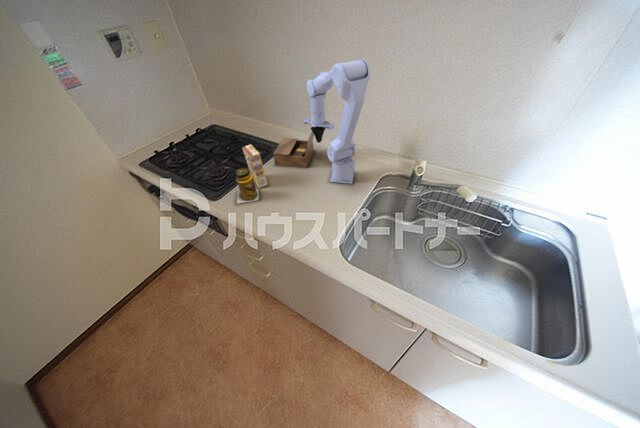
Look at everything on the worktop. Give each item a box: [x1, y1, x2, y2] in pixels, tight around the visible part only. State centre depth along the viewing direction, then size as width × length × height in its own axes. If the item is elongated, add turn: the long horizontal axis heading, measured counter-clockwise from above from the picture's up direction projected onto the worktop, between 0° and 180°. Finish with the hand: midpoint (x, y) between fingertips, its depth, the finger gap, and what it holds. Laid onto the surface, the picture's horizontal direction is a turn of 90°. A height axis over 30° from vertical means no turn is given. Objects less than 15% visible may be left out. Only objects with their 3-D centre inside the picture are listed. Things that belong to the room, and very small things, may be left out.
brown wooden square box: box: [272, 137, 314, 169], centre depth 113 cm, size 15×15×6 cm
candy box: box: [241, 144, 268, 189], centre depth 97 cm, size 9×4×15 cm, turn 33°
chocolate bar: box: [293, 144, 307, 157], centre depth 112 cm, size 4×11×4 cm, turn 163°
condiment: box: [234, 167, 260, 204], centre depth 91 cm, size 7×8×12 cm
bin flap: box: [305, 131, 315, 156], centre depth 106 cm, size 7×15×1 cm
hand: (319, 141), depth 108 cm, fingers closed
